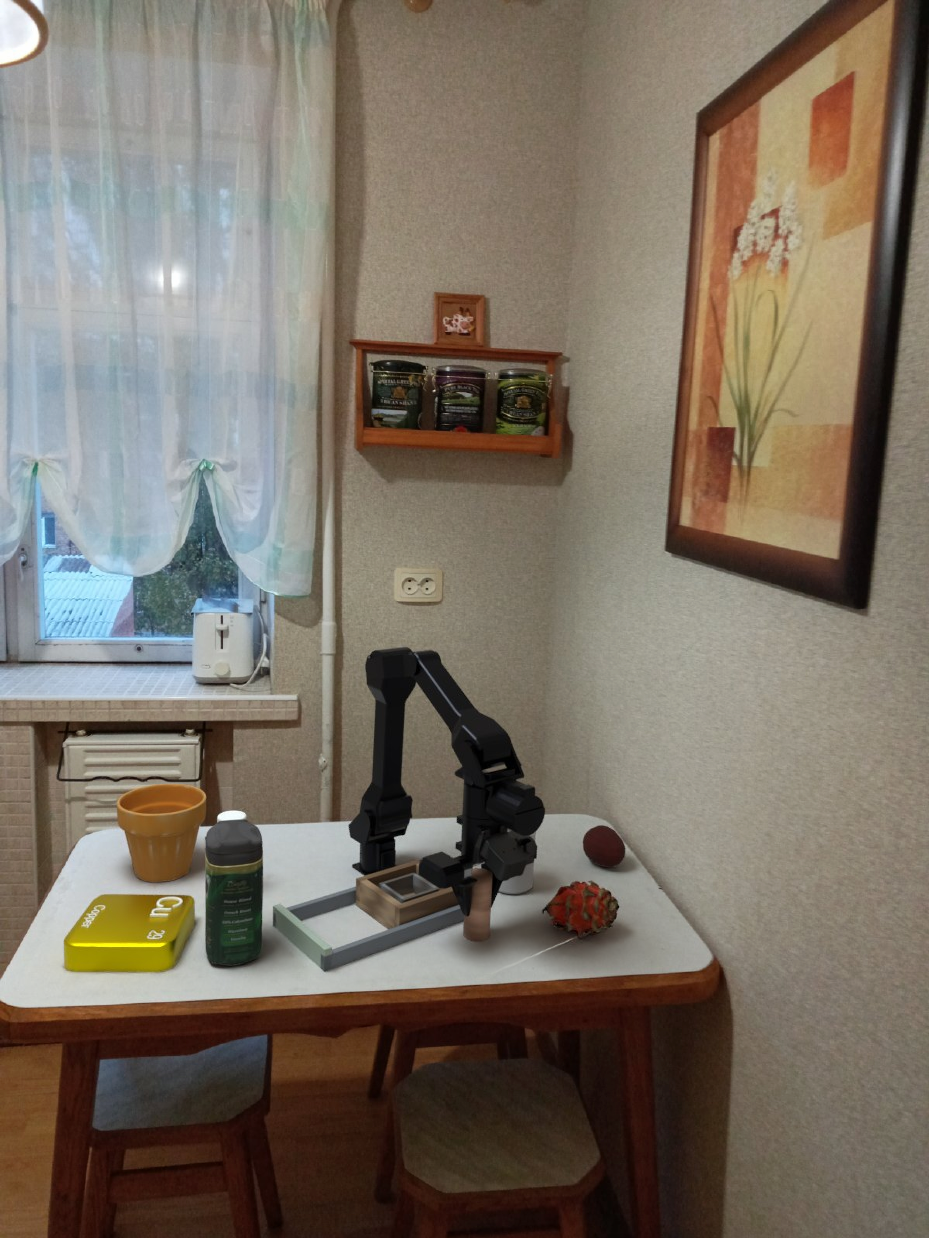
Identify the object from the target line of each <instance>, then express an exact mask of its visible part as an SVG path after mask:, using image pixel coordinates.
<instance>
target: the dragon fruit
mask: <svg viewBox="0 0 929 1238" xmlns="http://www.w3.org/2000/svg"><path fill="white" fill-rule="evenodd" d="M588 883H589V884H588ZM588 883H587V882H586V881H582V882H581V881H578V880H575V881H572V882H570V884H569V885H563V886H560V887H559V889H558V890H557V893H556V894H555V895H554V896H553V897H552V898H551V900H550V901H549V902H548V903H547V904H546V906H545V907H544V908H542V911H541V914H542V915H544V914H545V915H547V914H548V916H549V917H553V918H551V919H550V920H549V924H550V925H551V926H552V927H554V928H556V929H558V930H561V931H562V930H566V931H567V932H570V931H577V932H578V933H577V935H578V936H577V937H579V939H582V938H584V937H587V936H589V935H590V934H592V935H596V934H598V933H599V932H602V929H609V930H610V929H612V928H614V927H613V923H614V921H615V920H616V919H617V918H618V911H619V909H620V907H621V906H620V905H619V900H617V899H616V897H614V896H613V895H612V892H611V891H610V890H609V889H606V888H605V887H600V885H599V884H598V883H597V882H595V881H593V880H588ZM611 924H612V925H611Z"/></svg>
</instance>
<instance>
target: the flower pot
mask: <svg viewBox="0 0 929 1238" xmlns="http://www.w3.org/2000/svg"><path fill="white" fill-rule="evenodd" d="M116 816H117V818H116V820H117V824H118V827H119V828H120V829H121V830H122V831H123V832H124V835H125V840H126V844H127V847H128V851H129V855H130V856H129V857H130V860H131V862H132V863H131V864H132V867H133V871H134V874H135V876H136V877H137V878H138V879H139V880H142V881H144V882H151V883H162V882H171V881H174V880H177V879H180V878H183V877H184V876H186V875H187V874H188V873H189V871H190V869H191V865H192V860H193V857H194V853H195V848H196V844H197V841H198V839H197V838H198V835H199V830H200V826H201V825H202V824H203V822H204V821H205V820H206V818H207V817H206V816H207V795H206V792H204V790H202V789H201V788H199V787H196V786H194V785H188V784H182V783H181V784H180V783H158V784H151V785H146V786H141V787H138V788H137V787H136V788H133V789H132V790H129V791H127V792H125V793H123V794H122V795H121V796H120V797H119V798H118V799H117V801H116Z"/></svg>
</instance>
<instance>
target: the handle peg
mask: <svg viewBox="0 0 929 1238" xmlns="http://www.w3.org/2000/svg"><path fill="white" fill-rule="evenodd" d="M472 877H474V878H475V879H477V880H478V882H476V883H475V884H474V885H473V886H472V897H471V909H470V915H469V916H468V917H466V916H465V915H464V921H463V928H462V929H463V930H462V936H463V938H465V940H468V941H470V942H476V943H478V942H479V943H481V942H485V941H487V940H488V939H489V938H490V933H491V913H492V908H491V895H492V872H490V871H489V870H487V869H483V868H481V867H473V869H472Z"/></svg>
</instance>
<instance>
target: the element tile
mask: <svg viewBox="0 0 929 1238" xmlns="http://www.w3.org/2000/svg"><path fill="white" fill-rule="evenodd" d="M195 902H196V901H195V898H194V897H193V896H192V895H188V894H132V893H131V894H129V893H128V894H127V893H126V894H125V893H124V894H122V893H120V894H119V893H116V894H115V893H114V894H113V893H112V894H111V893H108V894H100V895H98V896H97V897H95V898H94V899H93V900H92V901H91V902H90V903H89V905H87V907H86V908H85V910H84V912H83V913H82V914H81V916H80V917H79V918H78V920H77V921H76V922H75V923H74V925H73V926H72V927H71V929H70V930H69V932H68V933H67V935H66V936H65V937H64V939H63V960H64V963H63V965H64V969H65V970H66V971H69V972H74V973H80V972H81V973H89V972H90V973H101V972H102V973H160V972H162V973H163V972H166V971H169V970H170V969H172V968H174V967H175V965H177V962H178V961H179V959H180V957H181V954H182V952H183V951H184V950H183V949H184V947H185V946H186V943H187V941H188V939H189V937H190V935H191V933H192V931H193V928H194V927H195V924H196V923H195V921H196V916H195V915H196V910H195V909H196V908H195V907H196V905H195V904H196V903H195Z"/></svg>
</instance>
